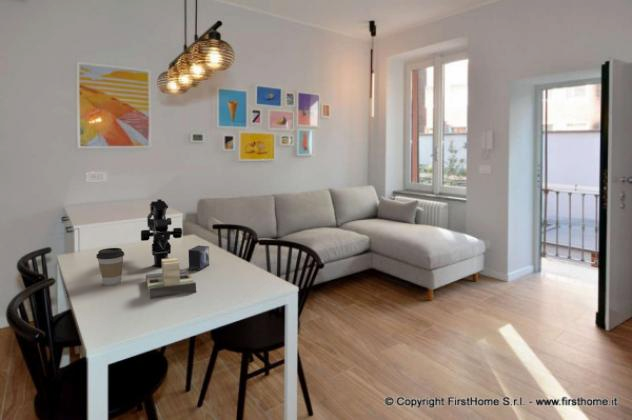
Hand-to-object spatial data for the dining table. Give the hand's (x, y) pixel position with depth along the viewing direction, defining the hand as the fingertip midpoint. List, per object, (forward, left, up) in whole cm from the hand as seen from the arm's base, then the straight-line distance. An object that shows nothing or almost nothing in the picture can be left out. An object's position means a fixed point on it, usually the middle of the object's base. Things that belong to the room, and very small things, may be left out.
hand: (163, 248), depth 192 cm
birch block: (+18, -18, -9) cm, 27 cm away
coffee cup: (-14, -18, -13) cm, 26 cm away
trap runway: (+14, -14, -12) cm, 24 cm away
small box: (+9, +15, -13) cm, 22 cm away
